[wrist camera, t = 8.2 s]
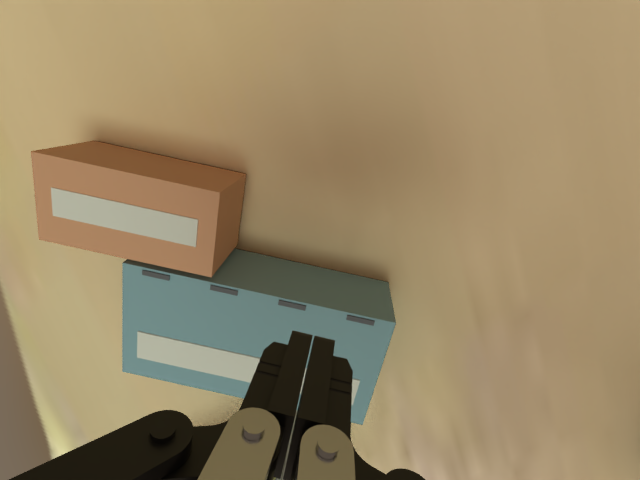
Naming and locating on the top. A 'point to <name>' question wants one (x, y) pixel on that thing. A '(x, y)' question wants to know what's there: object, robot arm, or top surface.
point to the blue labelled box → (250, 321)
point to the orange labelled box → (138, 205)
